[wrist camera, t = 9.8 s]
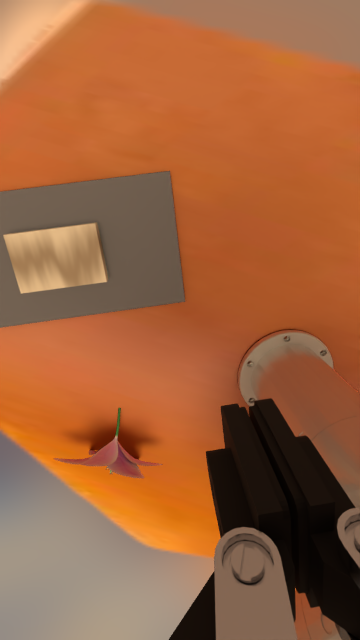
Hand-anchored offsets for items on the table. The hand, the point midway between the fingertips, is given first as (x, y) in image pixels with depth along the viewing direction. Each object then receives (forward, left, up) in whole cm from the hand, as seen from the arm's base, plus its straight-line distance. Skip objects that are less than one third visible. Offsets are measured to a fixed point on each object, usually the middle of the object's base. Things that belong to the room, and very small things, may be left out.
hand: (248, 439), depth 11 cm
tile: (+3, +8, -27) cm, 28 cm away
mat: (+3, +11, -29) cm, 31 cm away
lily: (-21, +11, -29) cm, 38 cm away
